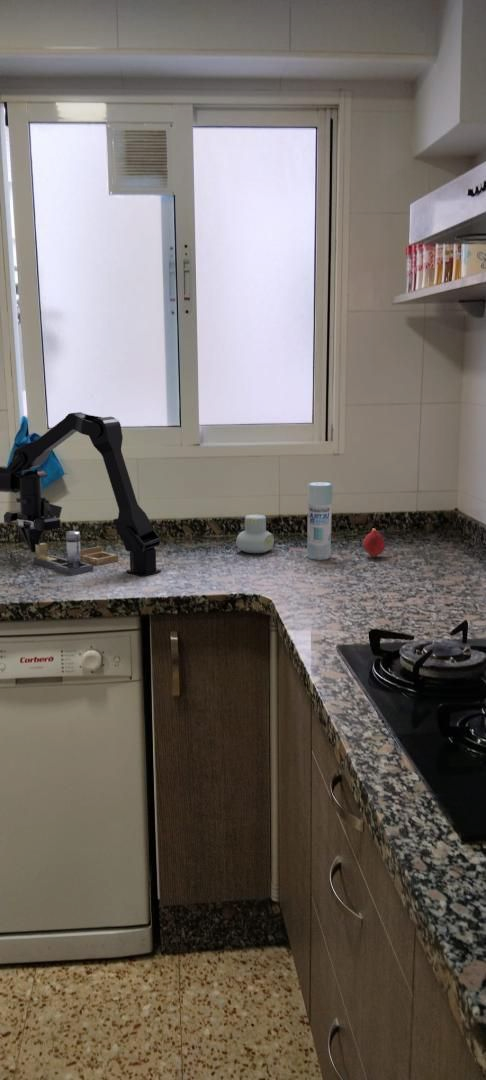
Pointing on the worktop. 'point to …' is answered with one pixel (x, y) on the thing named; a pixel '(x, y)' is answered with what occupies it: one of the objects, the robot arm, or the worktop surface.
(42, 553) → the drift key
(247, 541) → the air freshener
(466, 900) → the worktop surface
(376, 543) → the onion
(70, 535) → the salt shaker
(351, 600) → the worktop surface
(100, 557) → the wooden tray
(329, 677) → the worktop surface
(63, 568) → the socket block
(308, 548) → the spray paint can
